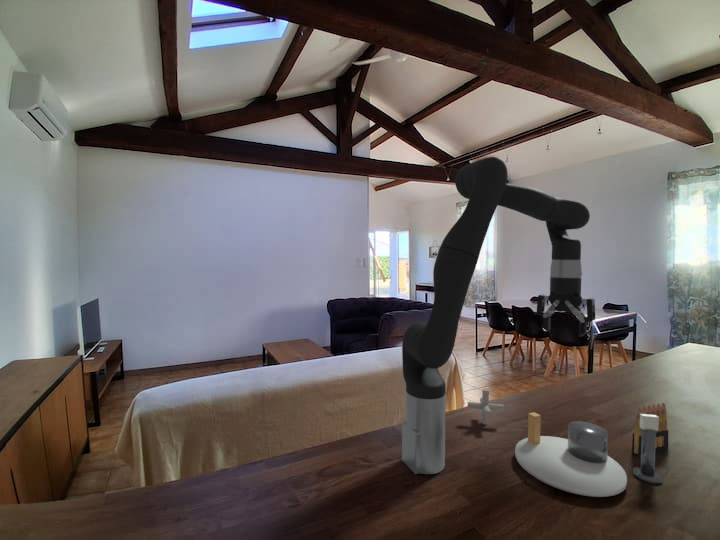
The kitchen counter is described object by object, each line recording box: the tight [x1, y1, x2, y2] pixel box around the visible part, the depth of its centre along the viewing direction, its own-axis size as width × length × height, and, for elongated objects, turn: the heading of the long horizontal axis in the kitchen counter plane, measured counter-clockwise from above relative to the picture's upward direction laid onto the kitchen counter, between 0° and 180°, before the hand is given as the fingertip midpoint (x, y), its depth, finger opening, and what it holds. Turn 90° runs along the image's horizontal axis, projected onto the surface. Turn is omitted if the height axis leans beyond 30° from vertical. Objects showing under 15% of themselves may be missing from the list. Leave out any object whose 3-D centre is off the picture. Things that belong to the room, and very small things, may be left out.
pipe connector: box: [467, 388, 505, 426], centre depth 103 cm, size 10×10×10 cm
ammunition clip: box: [631, 402, 669, 457], centre depth 88 cm, size 11×2×12 cm, turn 108°
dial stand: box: [632, 414, 663, 485], centre depth 78 cm, size 5×5×14 cm
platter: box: [514, 411, 628, 498], centre depth 80 cm, size 22×22×8 cm
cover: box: [567, 420, 609, 463], centre depth 83 cm, size 8×8×6 cm
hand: (564, 333), depth 98 cm, fingers open, 8 cm apart
